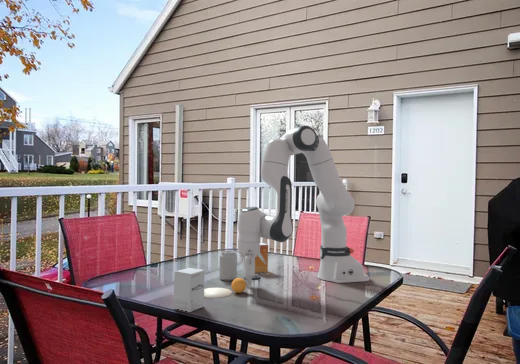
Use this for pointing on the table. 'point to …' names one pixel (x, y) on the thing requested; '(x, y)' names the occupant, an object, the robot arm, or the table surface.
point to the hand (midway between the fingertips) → (248, 283)
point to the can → (228, 265)
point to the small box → (262, 259)
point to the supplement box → (189, 289)
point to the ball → (238, 285)
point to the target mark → (216, 292)
